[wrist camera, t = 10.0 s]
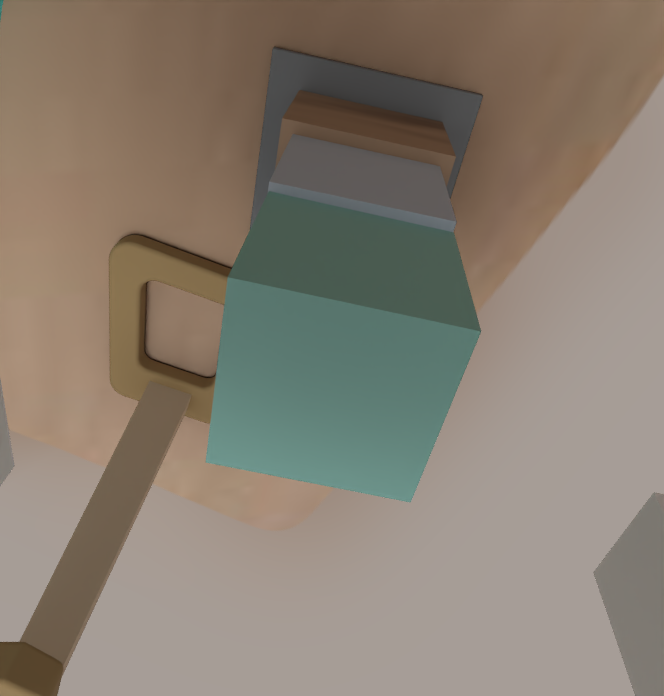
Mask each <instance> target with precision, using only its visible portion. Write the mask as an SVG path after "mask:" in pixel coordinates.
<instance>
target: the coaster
mask: <svg viewBox="0 0 664 696" xmlns="http://www.w3.org/2000/svg"><path fill="white" fill-rule="evenodd" d="M299 90H302V91H307V92H311V93H316V94H320V95H325V96H329V97H333V98H338V99H342V100H347V101H351V102H356V103H360V104H365V105H369V106H374V107H378V108H382V109H387V110H391V111H396V112H400V113H405V114H409V115H414V116H418V117H423V118H427V119H431V120H436V121H440V122H443V125H444V127H445V130H446V132H447V135H448V137H449V140H450V143H451V145H452V148H453V150H454V153H455V155H456V158H455V162H454V165H453V168H452V171H451V174H450V178H449V181H448V184H447V187H446V188H447V191H448V195H449V198H451V195H452V191H453V188H454V185H455V182H456V179H457V176H458V173H459V170H460V166H461V163H462V160H463V157H464V154H465V151H466V148H467V145H468V141H469V138H470V135H471V132H472V129H473V126H474V123H475V120H476V116H477V113H478V110H479V107H480V104H481V101H482V98H483V96H482V94H478V93H474V92H470V91H465V90H461V89H457V88H452V87H448V86H443V85H439V84H435V83H430V82H426V81H422V80H417V79H413V78H408V77H404V76H400V75H395V74H391V73H387V72H382V71H378V70H373V69H369V68H365V67H360V66H356V65H351V64H347V63H343V62H338V61H334V60H330V59H325V58H321V57H316V56H312V55H308V54H303V53H299V52H295V51H290V50H286V49H281V48H277V47H274V48H273V51H272V59H271V67H270V75H269V82H268V90H267V98H266V106H265V114H264V122H263V130H262V138H261V146H260V153H259V161H258V169H257V177H256V185H255V193H254V201H253V209H252V217H251V225H250V229H251V227H252V225H253V223H254V221H255V219H256V217H257V215H258V213H259V210H260V208H261V206H262V204H263V202H264V200H265V198H266V196H267V194H268V187H269V181H270V179H271V177H272V175H273V173H274V171H275V165H276V158H277V151H278V144H279V137H280V130H281V123H282V118H283V116H284V114H285V113H286V111H287V110H288V108H289V106H290V105H291V103H292V101H293V100H294V98H295V96H296V95H297V93H298V92H299Z"/></svg>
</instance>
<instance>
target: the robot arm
mask: <svg viewBox="0 0 664 696" xmlns="http://www.w3.org/2000/svg"><path fill="white" fill-rule="evenodd" d="M13 467H14V460H13V454H12V448H11V441H10V436H9V429H8V423H7V417H6V411H5V405H4V398H3V392H2V386H1V380H0V486H1V484H2V483H3V481H4V480H5V479H6V477H7V476H8V474H9V473H10V472H11V470H12V469H13ZM594 576H595V579H596V581H597V585H598V588H599V591H600V593H601V596H602V599H603V602H604V605H605V608H606V611H607V614H608V617H609V620H610V623H611V626H612V629H613V632H614V635H615V638H616V640H617V643H618V646H619V649H620V652H621V655H622V658H623V661H624V664H625V667H626V670H627V672H628V675H629V679H630V682H631V685H632V688H633V691H634V693H635V696H664V494H659V493H653V494H652V496H651V497H650V498H649V499H648V501H647V502H646V504H645V505H644V506H643V508H642V509H641V510H640V511H639V513H638V514H637V515H636V517H635V518H634V519H633V521H632V522H631V523H630V525H629V526H628V527H627V529H626V530H625V531H624V533H623V534H622V535H621V537H620V538H619V539H618V541H617V542H616V543H615V544H614V546H613V547H612V548H611V550H610V551H609V553H608V554H607V555H606V557H605V558H604V559H603V560H602V562H601V563H600V564H599V566H598V567H597V568H596V570H595V571H594Z"/></svg>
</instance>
